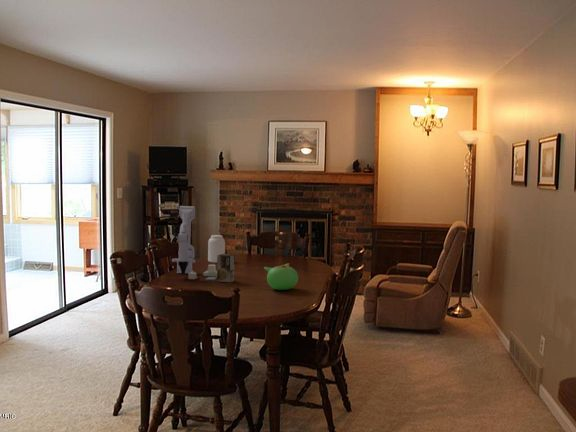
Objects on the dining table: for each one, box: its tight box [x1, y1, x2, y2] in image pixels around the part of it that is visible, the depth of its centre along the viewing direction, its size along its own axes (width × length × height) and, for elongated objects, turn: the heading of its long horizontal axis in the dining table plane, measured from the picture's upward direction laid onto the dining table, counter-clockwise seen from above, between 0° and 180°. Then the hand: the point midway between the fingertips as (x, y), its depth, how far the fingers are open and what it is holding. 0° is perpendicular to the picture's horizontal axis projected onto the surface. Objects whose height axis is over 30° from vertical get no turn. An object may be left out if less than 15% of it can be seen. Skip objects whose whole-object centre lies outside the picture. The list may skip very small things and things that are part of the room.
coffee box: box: [216, 253, 235, 283], centre depth 309 cm, size 9×6×16 cm
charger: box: [207, 263, 217, 273], centre depth 328 cm, size 4×4×6 cm
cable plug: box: [187, 272, 198, 280], centre depth 316 cm, size 5×4×4 cm
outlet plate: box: [202, 269, 217, 277], centre depth 328 cm, size 12×9×2 cm
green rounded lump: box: [263, 262, 299, 291], centre depth 289 cm, size 18×17×15 cm
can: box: [207, 234, 226, 264], centre depth 382 cm, size 12×12×20 cm
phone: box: [204, 276, 217, 282], centre depth 314 cm, size 6×8×1 cm
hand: (183, 273), depth 316 cm, fingers closed
